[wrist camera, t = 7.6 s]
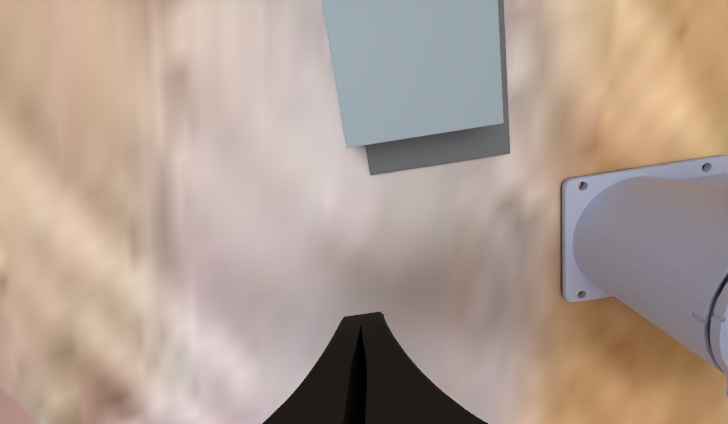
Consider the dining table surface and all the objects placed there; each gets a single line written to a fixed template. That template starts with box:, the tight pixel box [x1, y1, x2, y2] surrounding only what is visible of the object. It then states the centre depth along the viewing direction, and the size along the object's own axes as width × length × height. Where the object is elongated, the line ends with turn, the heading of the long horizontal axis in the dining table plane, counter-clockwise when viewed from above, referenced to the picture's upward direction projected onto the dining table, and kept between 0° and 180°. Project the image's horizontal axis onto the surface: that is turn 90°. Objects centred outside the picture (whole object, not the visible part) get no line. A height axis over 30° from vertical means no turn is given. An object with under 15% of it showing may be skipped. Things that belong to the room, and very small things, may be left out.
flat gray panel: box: [366, 0, 510, 175], centre depth 18 cm, size 8×14×1 cm, turn 9°
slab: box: [322, 0, 504, 148], centre depth 16 cm, size 4×10×7 cm
